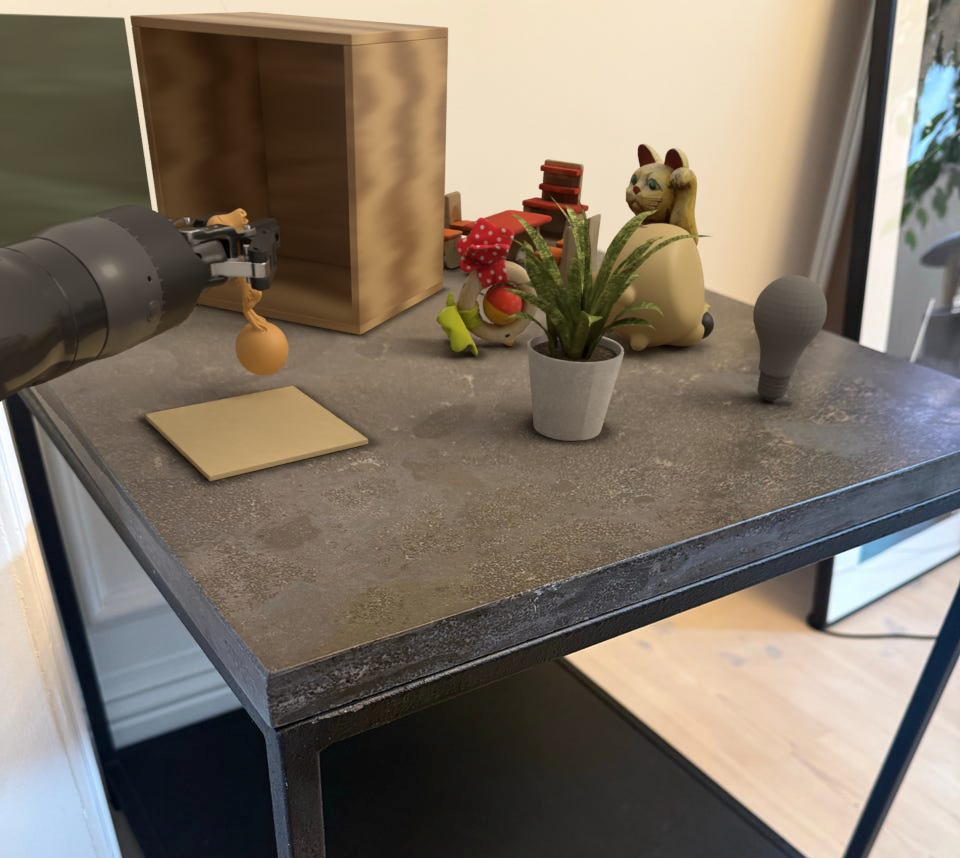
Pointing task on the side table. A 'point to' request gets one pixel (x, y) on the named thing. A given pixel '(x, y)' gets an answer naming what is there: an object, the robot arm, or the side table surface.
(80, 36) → the dark green flat panel
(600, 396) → the house plant
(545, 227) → the dollhouse furniture set
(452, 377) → the side table surface
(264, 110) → the cupboard
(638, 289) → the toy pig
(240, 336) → the figurine
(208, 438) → the mat
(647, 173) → the decorative figurine
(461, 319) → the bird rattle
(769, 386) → the light bulb
